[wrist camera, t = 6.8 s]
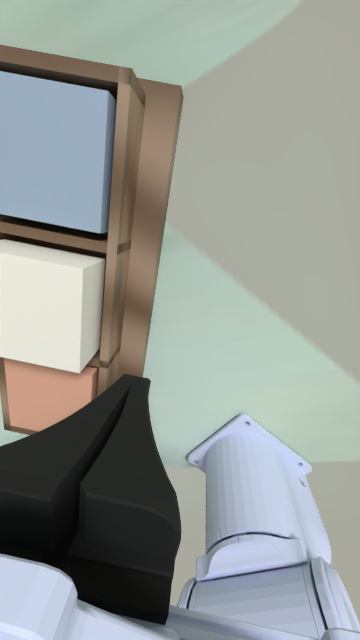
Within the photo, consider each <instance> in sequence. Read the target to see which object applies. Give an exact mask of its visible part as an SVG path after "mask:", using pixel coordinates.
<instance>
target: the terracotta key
mask: <svg viewBox="0 0 360 640" xmlns="http://www.w3.org/2000/svg"><path fill="white" fill-rule="evenodd" d="M4 364H5V374H6V384H7V394H8V405H9V415H10V425H11V426H16V427H20V428H25V429H30V430H34V431H42V430H44V429H46V428H48V427H50V426H52V425H54V424H56V423H57V422H59V421H61V420H63V419H65V418H66V417H68V416H70V415H72V414H73V413H75V412H76V411H78V410H79V409H81V408H82V407H84V406H85V405H87V404H88V403H89V402H91V401H92V400H94V399H95V398H96V397H97V392H98V377H99V367H95V366H91V365H86V366H85V367H84V368H83V370H82V371H81V372H80V373H75V372H70V371H66V370H61V369H56V368H51V367H47V366H42V365H37V364H32V363H27V362H23V361H18V360H13V359H8V358H4Z"/></svg>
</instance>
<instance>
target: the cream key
mask: <svg viewBox="0 0 360 640" xmlns="http://www.w3.org/2000/svg"><path fill="white" fill-rule="evenodd" d="M104 274H105V259H103V258H98V257H93V256H88V255H83V254H78V253H73V252H68V251H63V250H58V249H53V248H48V247H43V246H38V245H33V244H28V243H23V242H18V241H13V240H8V239H3V240H0V357H3V358H8V359H13V360H18V361H23V362H27V363H32V364H37V365H42V366H47V367H51V368H56V369H61V370H66V371H70V372H75V373H80V372H81V371H82V370H83V368H84V367H85V366H86V365H87V363H88V362H89V361H90V360H91V358H92V357H93V356H94V355H95V353H96V352H97V351H98V350H99V348H100V335H101V320H102V305H103V289H104Z"/></svg>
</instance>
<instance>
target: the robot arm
mask: <svg viewBox="0 0 360 640" xmlns="http://www.w3.org/2000/svg"><path fill="white" fill-rule="evenodd" d="M150 382H151V381H150V380H149V379H148V378H143V377H138V376H134V375H129V374H123V375H122V376H121V377H120V378H119V379H117V380H116V381H115V382H114V383H113V384H112V385H111V386H110V387H108V388H107V389H106V390H105V391H104V392H102V393H101V394H100V395H99V396H97V397H96V398H95V399H94V400H92V401H91V402H89V403H88V404H87V405H85V406H84V407H82V408H81V409H79V410H78V411H76V412H75V413H73V414H72V415H70V416H68V417H66V418H65V419H63V420H61V421H59V422H57V423H56V424H54V425H52V426H50V427H48V428H46V429H44V430H42V431H39V432H37V433H35V434H32V435H30V436H28V437H25V438H23V439H20V440H17V441H15V442H12V443H9V444H6V445H3V446H0V640H360V623H359V621H358V619H357V616H356V614H355V611H354V609H353V606H352V604H351V601H350V599H349V597H348V594H347V592H346V590H345V588H344V585H343V583H342V581H341V579H340V577H339V575H338V573H337V571H336V570H335V568H334V567H332V566H331V548H330V543H329V539H328V536H327V533H326V531H325V528H324V525H323V523H322V520H321V517H320V514H319V512H318V509H317V506H316V504H315V501H314V498H313V495H312V493H311V490H310V487H309V485H308V482H307V479H306V477H305V475H306V474H308V473H310V472H311V471H312V468H311V466H310V464H309V463H307V462H306V461H305V460H303V459H302V458H301V457H300V456H298V455H297V454H296V453H295V452H293V451H292V450H291V449H289V448H288V447H287V446H286V445H284V444H283V443H282V442H281V441H279V440H278V439H277V438H275V437H274V436H273V435H272V434H270V433H269V432H268V431H266V430H265V429H264V428H263V427H261V426H260V425H259V424H258V423H256V422H255V421H254V420H252V419H251V418H250V417H249V416H247V415H246V414H240V415H239V416H237V417H236V418H235V419H233V420H232V421H231V422H230V423H228V424H227V425H226V426H224V427H223V428H222V429H221V430H219V431H218V432H217V433H215V434H214V435H213V436H212V437H210V438H209V439H208V440H206V441H205V442H204V443H203V444H201V445H200V446H199V447H198V448H196V449H195V450H194V451H192V452H191V453H190V454H189V455H188V461H189V462H191V463H192V464H194V465H195V466H196V467H198V468H199V469H201V470H202V471H204V472H205V473H206V555H205V556H202V557H199V558H197V561H196V578H192V579H190V580H189V581H188V582H187V583H186V584H185V586H184V588H183V590H182V592H181V595H180V598H179V602H178V605H177V607H176V606H172V605H169V604H170V594H171V583H172V579H173V574H174V564H175V558H176V555H177V551H178V548H179V544H180V541H181V520H180V513H179V507H178V501H177V496H176V492H175V490H174V488H173V486H172V484H171V482H170V480H169V478H168V476H167V474H166V471H165V469H164V466H163V464H162V461H161V458H160V455H159V453H158V450H157V447H156V443H155V440H154V436H153V432H152V427H151V421H150V415H149V404H148V394H149V388H150ZM245 422H249V423H245ZM196 460H197V461H196Z"/></svg>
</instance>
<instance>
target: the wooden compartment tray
mask: <svg viewBox="0 0 360 640" xmlns="http://www.w3.org/2000/svg"><path fill="white" fill-rule="evenodd" d="M0 71H2V72H8V73H13V74H19V75H24V76H30V77H35V78H41V79H46V80H51V81H57V82H62V83H68V84H73V85H79V86H84V87H89V88H95V89H100V90H106V91H109V92H110V94H111V95H112V96H113V97H114V99H115V100H116V101H117V109H116V123H115V138H114V153H113V168H112V183H111V198H110V213H109V228H108V232H106V233H95V232H90V231H85V230H80V229H75V228H70V227H65V226H59V225H54V224H49V223H44V222H39V221H34V220H29V219H24V218H19V217H14V216H8V215H3V214H0V240H3V239H8V240H13V241H18V242H23V243H28V244H33V245H38V246H43V247H48V248H53V249H58V250H63V251H68V252H73V253H78V254H83V255H88V256H93V257H98V258H103V259H105V274H104V289H103V305H102V320H101V335H100V348H99V350H98V351H97V352H96V353H95V355H94V356H93V357H92V358H91V360H90V361H89V362H88V363H87V365H91V366H95V367H99V377H98V392H97V396H99V395H100V394H101V393H102V392H104V391H105V390H106V389H107V388H108V387H110V386H111V385H112V384H113V383H114V382H115V381H116V380H117V379H119V378H120V377H121V376H122V375H123V374H129V375H134V376H138V377H143V371H144V364H145V357H146V350H147V343H148V337H149V330H150V323H151V316H152V309H153V302H154V295H155V289H156V282H157V275H158V268H159V261H160V254H161V247H162V240H163V234H164V227H165V220H166V212H167V206H168V199H169V192H170V185H171V179H172V171H173V165H174V158H175V151H176V144H177V137H178V130H179V124H180V117H181V110H182V103H183V93H182V88H181V86H179V85H173V84H168V83H162V82H157V81H151V80H146V79H140V78H137V77H136V75H135V73H134V72H133V70H132V69H131V68H125V67H120V66H114V65H109V64H103V63H98V62H92V61H87V60H81V59H76V58H70V57H65V56H59V55H54V54H48V53H43V52H37V51H32V50H26V49H21V48H15V47H10V46H4V45H0ZM0 394H1V403H2V412H3V421H4V430H9V431H14V432H18V433H23V434H28V435H32V434H35V433H37V432H39V431H34V430H30V429H25V428H20V427H16V426H11V425H10V415H9V405H8V394H7V384H6V374H5V364H4V358H3V357H0Z"/></svg>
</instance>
